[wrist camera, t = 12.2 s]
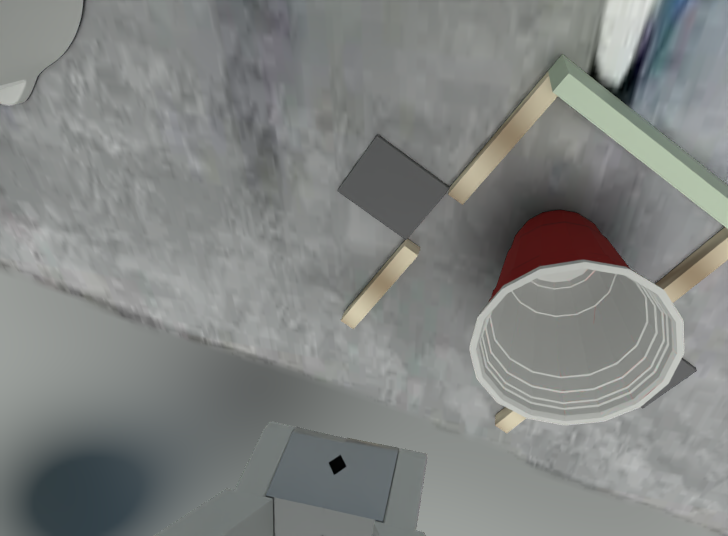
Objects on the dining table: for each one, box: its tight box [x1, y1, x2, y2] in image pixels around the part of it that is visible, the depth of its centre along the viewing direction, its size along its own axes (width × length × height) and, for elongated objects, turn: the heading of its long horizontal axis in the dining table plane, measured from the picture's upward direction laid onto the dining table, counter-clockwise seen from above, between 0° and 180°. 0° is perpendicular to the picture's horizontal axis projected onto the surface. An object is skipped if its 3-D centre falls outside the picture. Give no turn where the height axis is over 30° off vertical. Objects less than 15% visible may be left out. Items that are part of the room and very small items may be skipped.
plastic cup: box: [469, 210, 684, 425], centre depth 37 cm, size 11×11×12 cm
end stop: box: [548, 54, 728, 229], centre depth 35 cm, size 1×16×5 cm, turn 56°
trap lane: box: [341, 72, 728, 433], centre depth 43 cm, size 23×16×1 cm
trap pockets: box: [338, 135, 697, 408], centre depth 44 cm, size 5×28×1 cm, turn 56°
